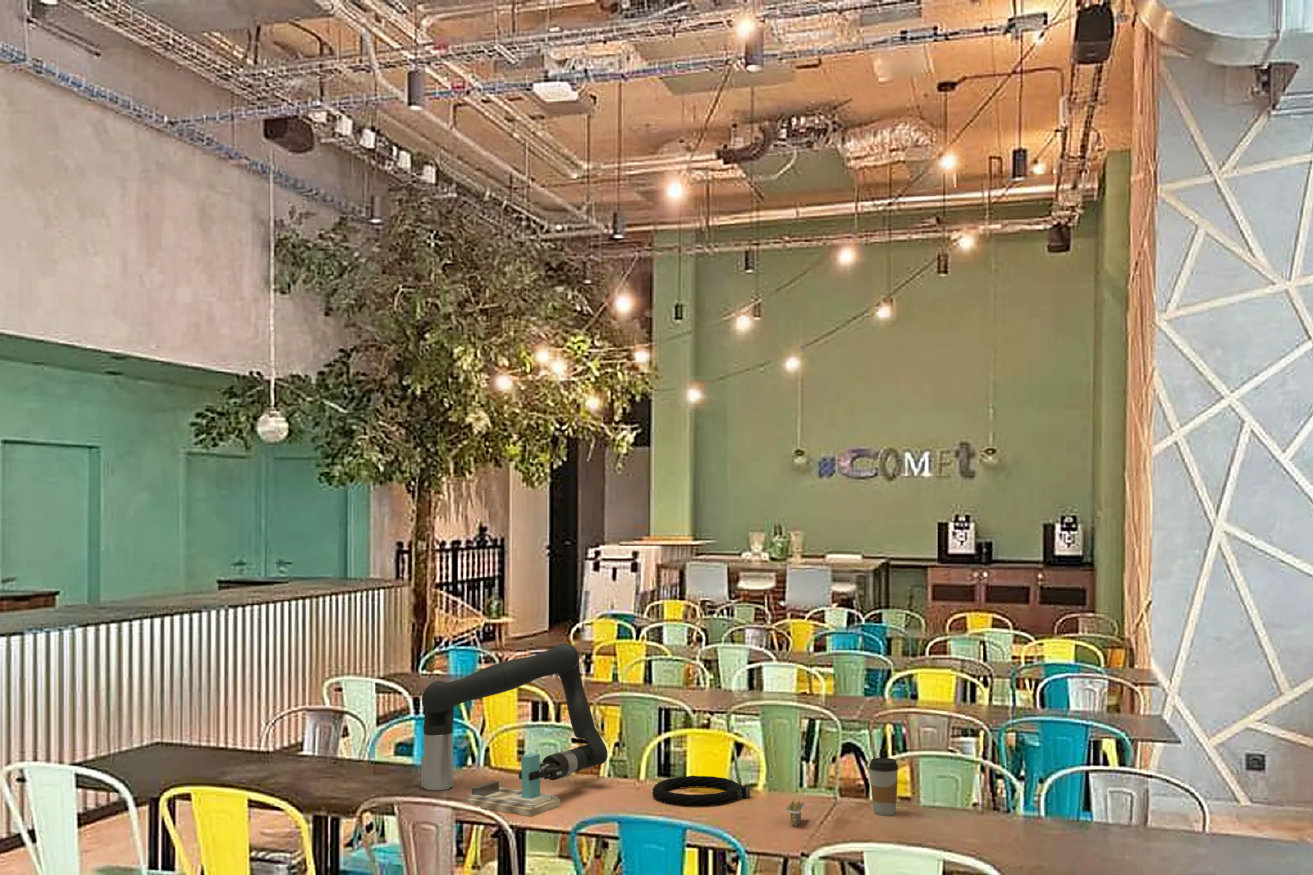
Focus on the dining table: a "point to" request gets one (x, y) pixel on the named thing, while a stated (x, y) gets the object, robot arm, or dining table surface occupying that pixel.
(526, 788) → the post
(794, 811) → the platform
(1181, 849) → the dining table surface
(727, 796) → the cable lock
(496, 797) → the rail board
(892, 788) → the coffee cup
